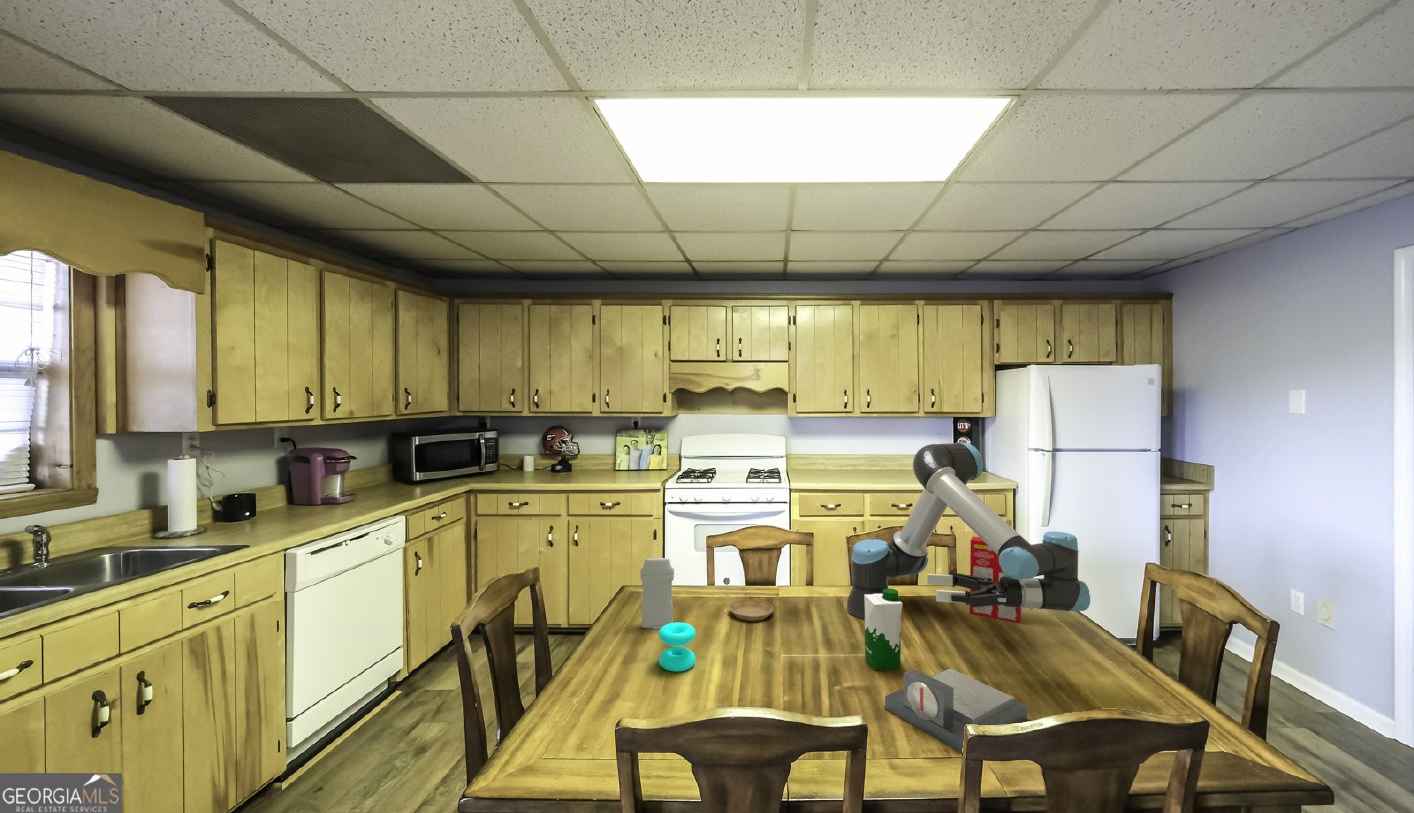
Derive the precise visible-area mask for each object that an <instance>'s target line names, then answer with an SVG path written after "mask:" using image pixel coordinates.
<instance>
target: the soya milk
mask: <svg viewBox="0 0 1414 813" xmlns="http://www.w3.org/2000/svg"><path fill="white" fill-rule="evenodd" d="M864 600H865V619H864V654H865V655H864V656H865V661H867V663H868V664H869V665H870V667H871V668H872V669H873V670H874V671H897V670H899V671H900V670H901V669H902V668H901V665H902V664H901V663H902V660H901V655H902V654H901V652H902V650H901V649H902V648H901V642H902V640H901V639H902V636H901V635H902V634H901V633H902V629H901V628H902V626H901V625H902V624H901V623H902V613H903V612H902V611H903V602H902V600H900V598H899V591H898V590H897V589H894V588H889V587H888V588H886V589H883V594H867V595H864Z"/></svg>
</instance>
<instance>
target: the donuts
mask: <svg viewBox="0 0 1414 813" xmlns="http://www.w3.org/2000/svg"><path fill="white" fill-rule="evenodd" d="M696 634H697V633H696V629H695V627H694V626H692V625H691V624H689V623H686V622H676V621H675V622H673V623H669V624H667V625H664V626H663V627H662V628H661V629H659V632H658V638H659V640H660V641H661V642H662V643H663V644H666V645H668V646H671V647H669V648H666V649H664V650H663V651H662V652H661V653H660V654H659V657H658V663H659V665H660V666H661V668H663V669H664V670H666V671H670V672H684V671H687V670H689V669H691V668H693V666H694V665H695V664H696V660H697V659H696V655H695V652H693V651H692V650H691V649H690V648H688V647H684V646H685V645H688V644H690V643H692V642H693V641H694V639H695V638H696Z"/></svg>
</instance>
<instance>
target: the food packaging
mask: <svg viewBox="0 0 1414 813" xmlns="http://www.w3.org/2000/svg"><path fill="white" fill-rule="evenodd" d="M969 557H970V561H969V562H970V564H969V565H970V566H969V568H970V569H969V570H970V572H969V573H970V574H969V575H970V576H976V577H982V578H991V579H992V581H993V583H999V581H1000V578H1001V577H1003V576H1005V577H1008V576H1007V575H1006V574H1005V573H1004V572H1003V571H1002V568H1001V566H1000V565H999V556H998V555H997V554H996V553H995V552H994V551H993V550H992V549H991V548H990V547H989V546H988V545H987V544H986V543H985V542H984V541H983V540H982V539H981V538H980V537H979V536H975V535H974V536H972V537H971V538H970V555H969ZM973 591H975V590H972V589H969V592H973ZM1022 609H1023V607H1021V606H1020V607H1005V606H1004V605H991V606H982V607H970V606H969V615H972V616H976V617H977V616H978V617H982V616H985V617H984V618H987V617H989V618H988V619H992V618H994V619H993V620H997V619H999V621H1003V620H1004V621H1003V622H1007V623H1014V624H1021V623H1022Z"/></svg>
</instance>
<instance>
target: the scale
mask: <svg viewBox="0 0 1414 813" xmlns="http://www.w3.org/2000/svg"><path fill="white" fill-rule="evenodd" d="M884 709H885V710H887V711H888V712H890V713H891V714H893V715H895V716H896V717H898V718H900V719H902V720H903V721H905V722H907V723H908V724H910V725H912V726H914V727H915V728H917V729H919V730H921V731H922V732H924V733H926V734H927V735H929V736H931V737H932V738H935V739H936V740H938V741H939V742H941V743H942V744H945V745H947V746H948V747H950V748H952V749H953V750H955V751H956V752H959V754H962V748H963V741H964V727H965V725H966V724H978V725H998V724H1010V723H1019V722H1020V723H1023V721H1025V720H1027V719H1028V704H1026V703H1024V702H1021V701H1020V700H1017V699H1015V697H1014V696H1012V695H1010V694H1007V693H1005V692H1003V691H1001V690H999V689H997V688H995V687H992V686H990V685H987V684H986V683H984V682H981V681H979V680H977V679H975V678H972V677H971V676H968V675H966V674H963V673H961V672H960V671H957V670H954V669H952V668H946V669H944V670H942V671H940V672H937V673H935V674H933V675H931V676H930V675H927V674H925V673H923V672H921V671H919V670H917V669H915V668H912V669H910V670H907V671H906V672H903V688H900V689H899V690H898V689H897V690H896V691H894V692H892V693H889V694H886V695H884ZM1020 723H1019V724H1020Z"/></svg>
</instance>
